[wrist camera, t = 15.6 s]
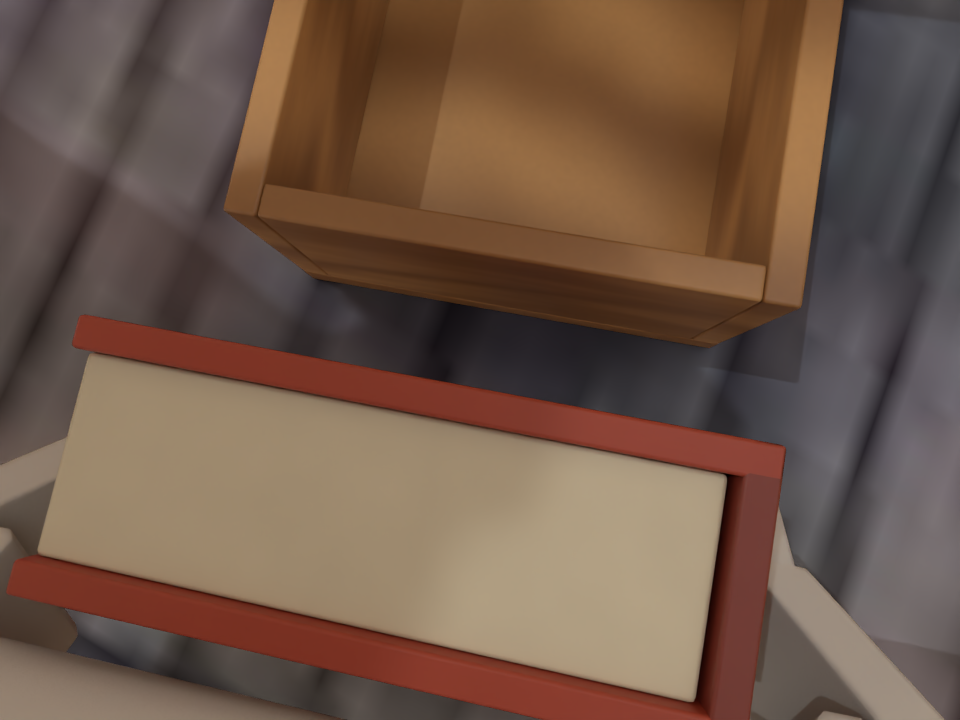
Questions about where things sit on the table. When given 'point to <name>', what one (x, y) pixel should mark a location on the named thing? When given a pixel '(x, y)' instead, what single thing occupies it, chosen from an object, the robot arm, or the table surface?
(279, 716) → the robot arm
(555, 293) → the pine box
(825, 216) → the table surface
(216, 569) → the book
